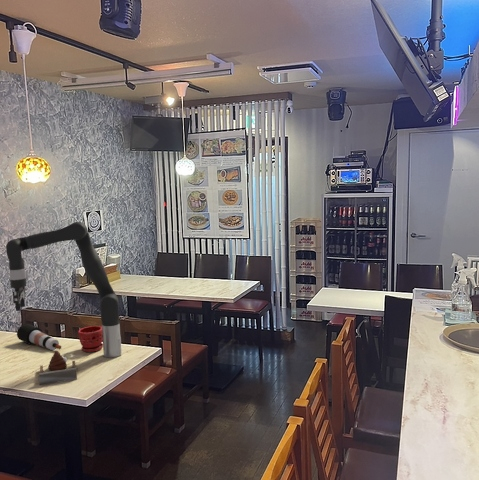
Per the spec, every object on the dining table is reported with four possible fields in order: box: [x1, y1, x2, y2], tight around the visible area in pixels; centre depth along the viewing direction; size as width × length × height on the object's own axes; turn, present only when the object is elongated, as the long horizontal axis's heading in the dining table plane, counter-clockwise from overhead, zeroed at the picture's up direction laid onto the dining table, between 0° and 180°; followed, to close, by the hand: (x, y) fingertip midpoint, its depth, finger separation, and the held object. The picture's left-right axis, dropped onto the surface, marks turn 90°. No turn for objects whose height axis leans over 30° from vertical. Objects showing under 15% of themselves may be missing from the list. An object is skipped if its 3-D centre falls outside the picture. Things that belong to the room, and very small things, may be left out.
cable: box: [16, 323, 63, 351], centre depth 273 cm, size 10×34×10 cm, turn 56°
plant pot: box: [78, 325, 103, 353], centre depth 265 cm, size 13×13×12 cm
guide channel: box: [38, 360, 78, 386], centre depth 230 cm, size 20×16×5 cm
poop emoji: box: [47, 350, 68, 371], centre depth 238 cm, size 10×8×9 cm
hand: (20, 308), depth 244 cm, fingers open, 8 cm apart
